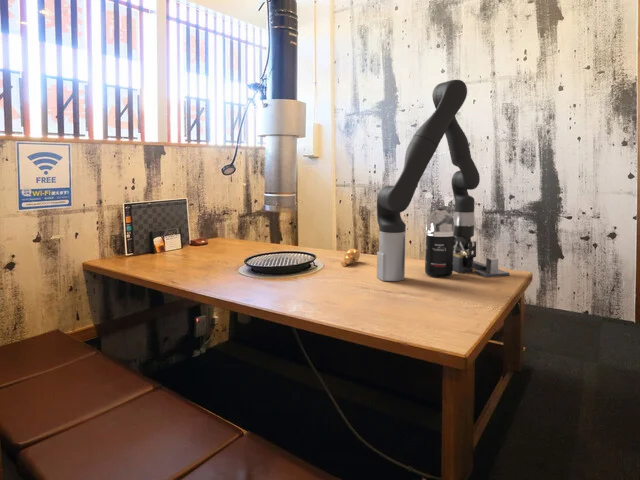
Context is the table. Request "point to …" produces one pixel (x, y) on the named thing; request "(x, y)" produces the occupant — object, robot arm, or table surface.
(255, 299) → the table surface
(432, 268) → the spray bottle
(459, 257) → the khaki matte cube
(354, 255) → the figurine
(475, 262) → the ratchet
